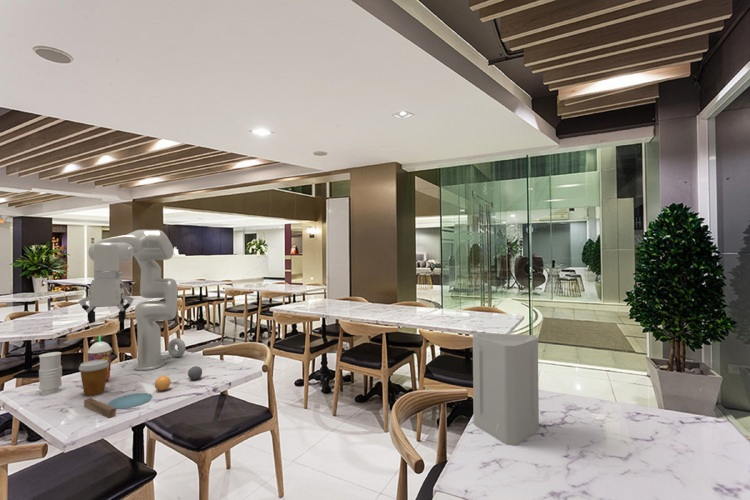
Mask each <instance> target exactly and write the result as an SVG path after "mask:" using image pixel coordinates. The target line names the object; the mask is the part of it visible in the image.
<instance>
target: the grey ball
mask: <svg viewBox="0 0 750 500" xmlns="http://www.w3.org/2000/svg"><path fill="white" fill-rule="evenodd" d="M202 375H203V369H202V368H201V367H200V366H196V365H194V366H192V367H190V368H189V370H188V372H187V376H188V378H189V379H191V380H193V381H196V380H198V379H199V378H201V377H202Z"/></svg>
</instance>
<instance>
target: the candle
mask: <svg viewBox="0 0 750 500" xmlns="http://www.w3.org/2000/svg"><path fill="white" fill-rule="evenodd" d="M61 355H62V352H60V351H53V352H46V353H42V354H39V355H38V358H39V369H38V381H39V388H38V389H39V390H40V391H41V392H40V395H42V396H43V395H44V396H48V395H53V394H56V393H58V392H60V391H61V389H60V387H61V386H62V385H63V384H62V377H63V366H62V365H61V363H62V361H61Z"/></svg>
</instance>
